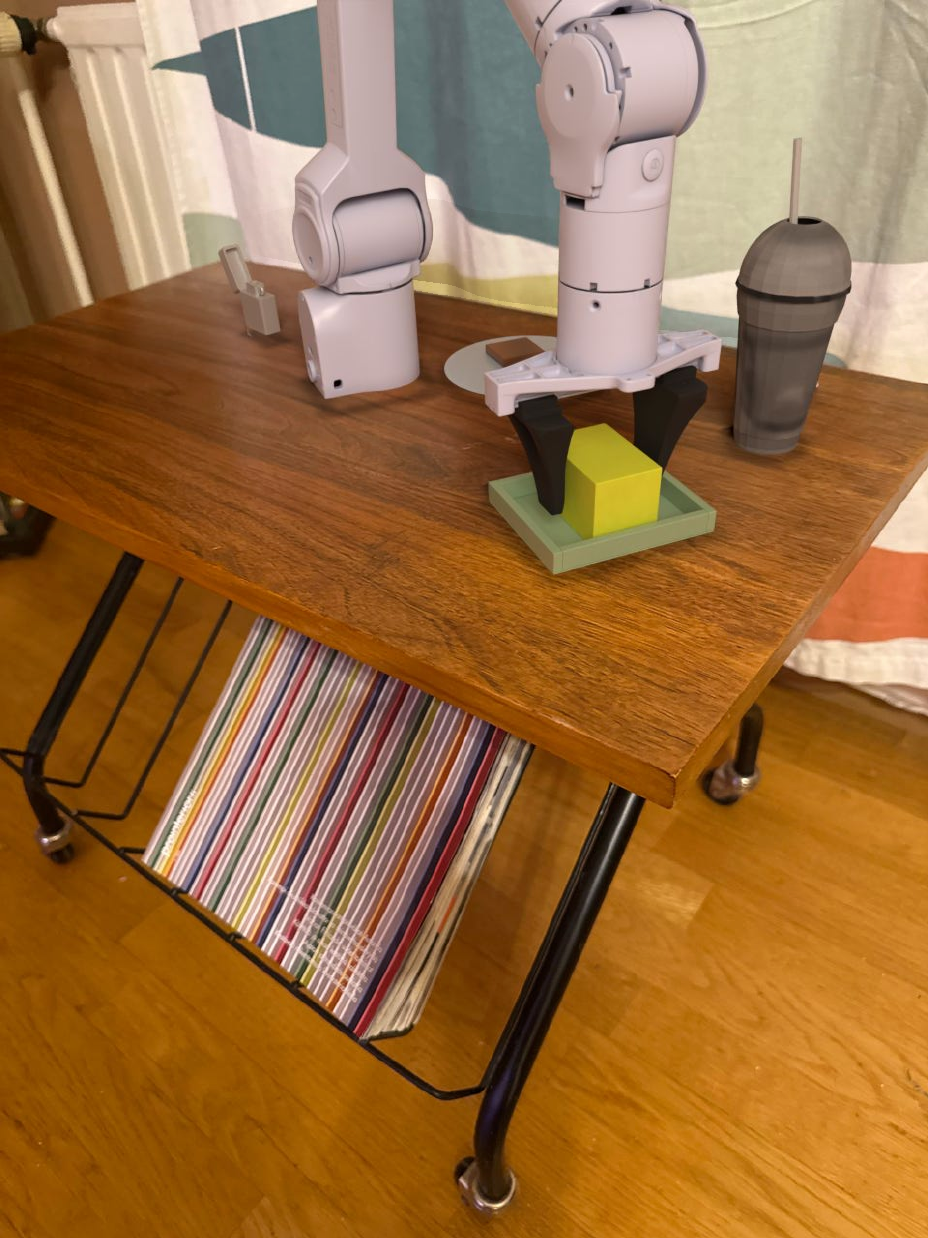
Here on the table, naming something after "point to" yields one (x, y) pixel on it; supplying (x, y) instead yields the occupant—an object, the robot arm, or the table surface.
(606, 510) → the sponge
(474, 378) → the plate
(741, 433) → the beverage cup
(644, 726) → the table surface
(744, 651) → the table surface
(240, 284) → the lighter
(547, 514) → the sponge dish
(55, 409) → the table surface
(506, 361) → the block
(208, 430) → the table surface
